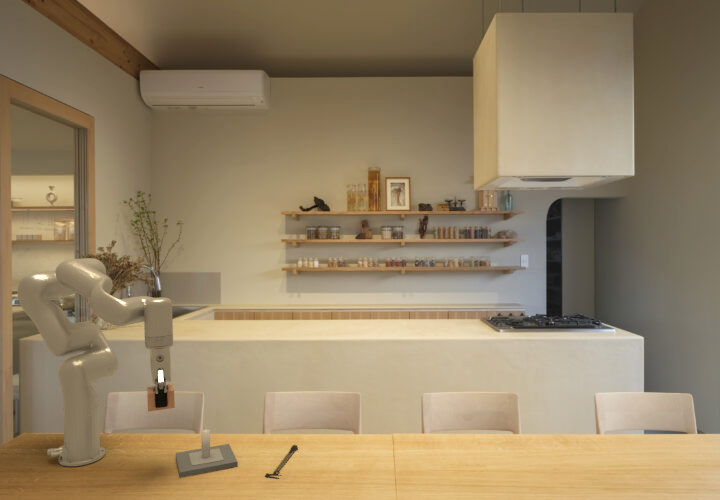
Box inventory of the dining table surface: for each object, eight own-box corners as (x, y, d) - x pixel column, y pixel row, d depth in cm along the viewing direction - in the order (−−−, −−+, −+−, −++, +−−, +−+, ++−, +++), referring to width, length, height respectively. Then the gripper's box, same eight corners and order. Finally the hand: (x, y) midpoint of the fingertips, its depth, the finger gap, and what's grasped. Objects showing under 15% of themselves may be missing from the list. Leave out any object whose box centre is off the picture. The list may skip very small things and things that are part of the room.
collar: (147, 411, 142) (147, 393, 142) (147, 404, 148) (147, 387, 148) (174, 407, 144) (174, 390, 144) (173, 400, 151) (172, 383, 151)
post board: (180, 477, 143) (179, 444, 143) (175, 457, 156) (175, 427, 156) (237, 466, 150) (237, 434, 150) (229, 448, 163) (228, 418, 162)
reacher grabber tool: (286, 484, 142) (286, 480, 142) (264, 479, 143) (264, 475, 143) (311, 451, 162) (312, 448, 162) (292, 447, 164) (292, 444, 164)
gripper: (174, 345, 139) (176, 410, 140) (171, 334, 155) (173, 392, 156) (144, 348, 136) (147, 414, 137) (144, 337, 152) (146, 396, 153)
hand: (161, 402), depth 146 cm, fingers closed on collar, 7 cm apart
